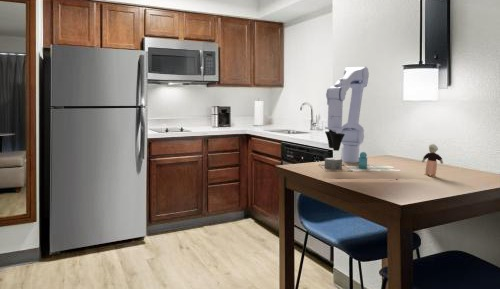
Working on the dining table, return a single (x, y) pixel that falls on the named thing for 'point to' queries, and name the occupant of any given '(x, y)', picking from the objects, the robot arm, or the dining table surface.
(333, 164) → the grey symbol block
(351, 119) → the robot arm
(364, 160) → the pawn
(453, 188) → the dining table surface
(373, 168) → the board
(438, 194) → the dining table surface
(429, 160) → the grandmother figurine
